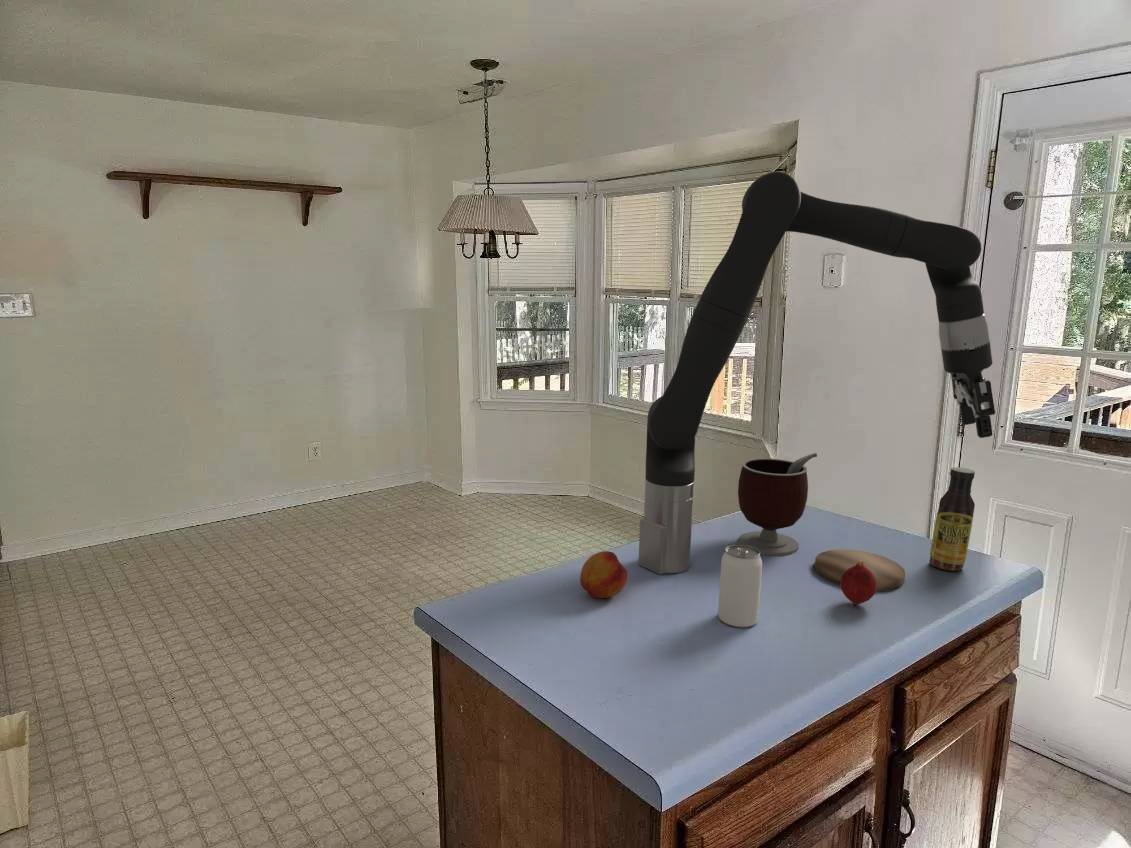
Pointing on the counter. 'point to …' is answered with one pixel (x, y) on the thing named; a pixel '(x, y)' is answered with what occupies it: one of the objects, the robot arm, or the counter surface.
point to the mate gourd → (772, 501)
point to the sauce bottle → (953, 522)
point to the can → (740, 586)
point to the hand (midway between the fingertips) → (976, 430)
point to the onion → (858, 583)
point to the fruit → (603, 575)
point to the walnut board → (881, 567)
